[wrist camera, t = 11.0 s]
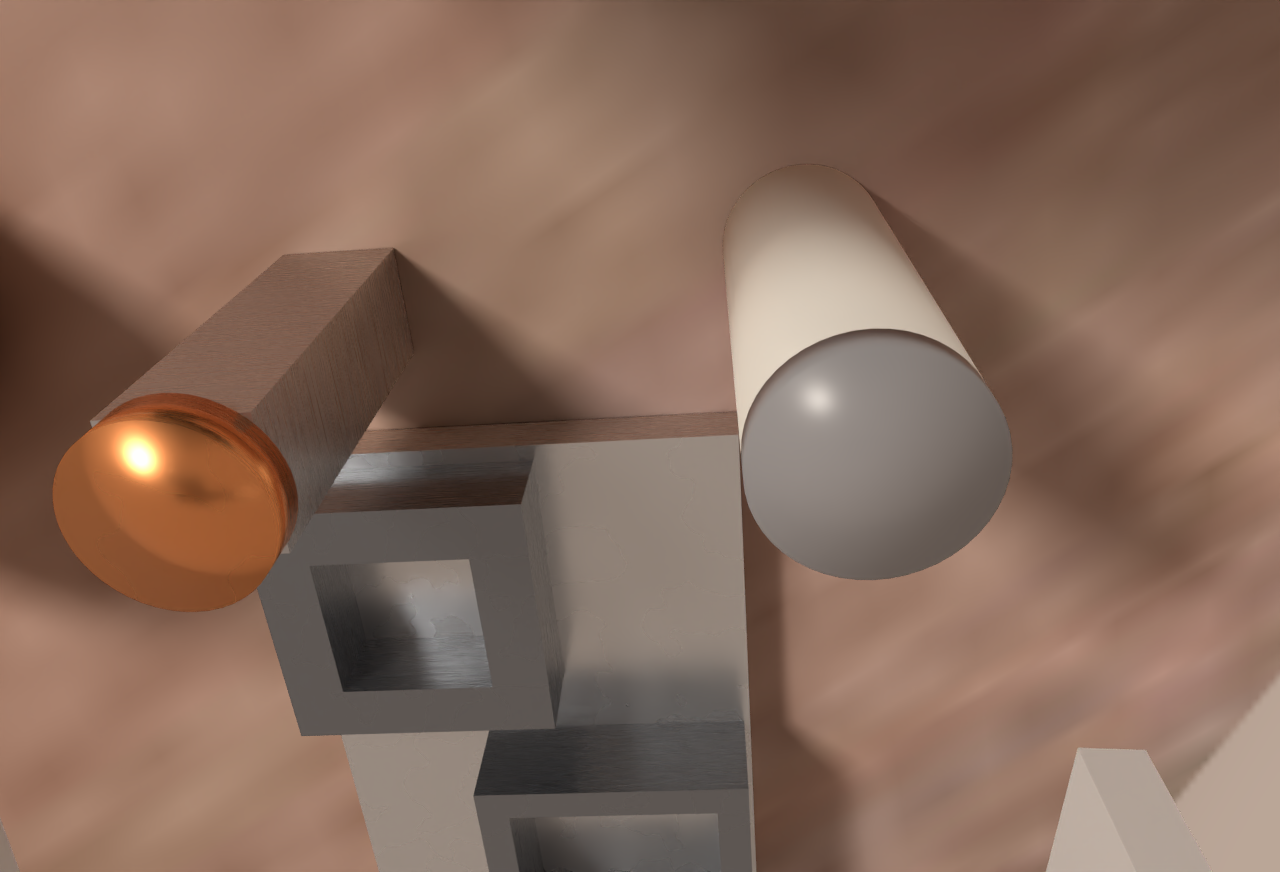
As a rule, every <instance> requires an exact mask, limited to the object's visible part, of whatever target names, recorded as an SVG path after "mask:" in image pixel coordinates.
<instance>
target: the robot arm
mask: <svg viewBox="0 0 1280 872" xmlns="http://www.w3.org/2000/svg"><path fill="white" fill-rule="evenodd" d="M0 872H20V871H19V868H18V865H17V862H16V860H15V857H14V854H13V851H12V849H11V846H10V843H9V841H8V838H7V835H6V832H5V830H4V827H3V824H2V821H1V819H0ZM1046 872H1213V871H1212V869H1211V867H1210V865H1209V864H1208V862H1207V860H1206V858H1205V856H1204V854H1203V853H1202V851H1201V849H1200V847H1199V846H1198V844H1197V842H1196V840H1195V838H1194V836H1193V835H1192V833H1191V831H1190V829H1189V827H1188V826H1187V824H1186V822H1185V820H1184V818H1183V816H1182V815H1181V813H1180V811H1179V809H1178V807H1177V806H1176V804H1175V802H1174V800H1173V798H1172V797H1171V795H1170V793H1169V791H1168V789H1167V788H1166V786H1165V784H1164V782H1163V780H1162V779H1161V777H1160V775H1159V773H1158V771H1157V769H1156V768H1155V766H1154V764H1153V762H1152V760H1151V759H1150V757H1149V755H1148V753H1147V751H1146V750H1130V749H1102V748H1078V749H1077V753H1076V757H1075V761H1074V765H1073V769H1072V772H1071V776H1070V780H1069V784H1068V788H1067V792H1066V796H1065V800H1064V804H1063V807H1062V811H1061V815H1060V819H1059V823H1058V827H1057V831H1056V835H1055V839H1054V842H1053V846H1052V850H1051V854H1050V858H1049V862H1048V866H1047V870H1046Z"/></svg>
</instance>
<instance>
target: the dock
mask: <svg viewBox="0 0 1280 872" xmlns="http://www.w3.org/2000/svg"><path fill="white" fill-rule="evenodd" d="M257 590H258V593H259V596H260V600H261V603H262V606H263V610H264V613H265V616H266V620H267V623H268V626H269V630H270V633H271V636H272V640H273V643H274V646H275V650H276V653H277V656H278V659H279V663H280V666H281V669H282V673H283V676H284V679H285V683H286V686H287V689H288V693H289V696H290V699H291V703H292V706H293V709H294V713H295V716H296V719H297V723H298V726H299V729H300V733H301V736H320V735H341V736H342V739H343V743H344V747H345V750H346V754H347V758H348V761H349V765H350V768H351V772H352V776H353V779H354V783H355V786H356V790H357V794H358V797H359V801H360V804H361V808H362V812H363V815H364V819H365V822H366V826H367V830H368V833H369V837H370V840H371V844H372V848H373V851H374V855H375V858H376V862H377V866H378V869H379V872H756V851H755V826H754V802H753V777H752V753H751V728H750V704H749V679H748V655H747V630H746V606H745V581H744V557H743V532H742V507H741V483H740V458H739V434H738V423H737V412H723V413H704V414H685V415H665V416H646V417H627V418H608V419H589V420H570V421H551V422H531V423H512V424H493V425H474V426H455V427H436V428H416V429H397V430H378V431H365V433H364V434H363V436H362V438H361V439H360V441H359V443H358V444H357V446H356V447H355V449H354V451H353V452H352V454H351V455H350V457H349V459H348V460H347V462H346V463H345V465H344V467H343V468H342V470H341V472H340V473H339V475H338V476H337V478H336V480H335V481H334V483H333V484H332V486H331V488H330V489H329V491H328V493H327V494H326V496H325V497H324V499H323V501H322V502H321V504H320V505H319V507H318V509H317V510H316V512H315V514H314V515H313V517H312V518H311V520H310V522H309V523H308V525H307V526H306V528H305V530H304V531H303V533H302V534H301V536H300V538H299V539H298V541H297V543H296V544H295V546H294V547H293V549H292V551H291V552H290V553H285V554H280V555H279V557H278V559H277V560H276V562H275V563H274V565H273V566H272V568H271V570H270V571H269V573H268V574H267V576H266V577H265V579H264V580H263V581H262V583H261V584H260V585H259V586H258V587H257Z"/></svg>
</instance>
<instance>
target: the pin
mask: <svg viewBox="0 0 1280 872" xmlns="http://www.w3.org/2000/svg"><path fill="white" fill-rule="evenodd" d="M413 354H414V351H413V346H412V341H411V336H410V330H409V325H408V320H407V315H406V310H405V304H404V299H403V294H402V289H401V284H400V278H399V273H398V268H397V263H396V258H395V252H394V248H385V249H370V250H354V251H339V252H323V253H308V254H292V255H283V256H282V257H280V258H279V259H278V260H277V261H276V262H275V263H273V264H272V265H271V266H270V267H269V268H268V269H266V270H265V271H264V272H263V273H262V274H261V275H259V276H258V277H257V278H256V279H255V280H254V281H252V282H251V283H250V284H249V285H248V286H247V287H245V288H244V289H243V290H242V291H241V292H240V293H238V294H237V295H236V296H235V297H234V298H233V299H231V300H230V301H229V302H228V303H227V304H226V305H224V306H223V307H222V308H221V309H220V310H219V311H217V312H216V313H215V314H214V315H213V316H212V317H210V318H209V319H208V320H207V321H206V322H205V323H203V324H202V325H201V326H200V327H199V328H198V329H196V330H195V331H194V332H193V333H192V334H191V335H189V336H188V337H187V338H186V339H185V340H184V341H182V342H181V343H180V344H179V345H178V346H177V347H175V348H174V349H173V350H172V351H171V352H170V353H168V354H167V355H166V356H165V357H164V358H163V359H161V360H160V361H159V362H158V363H157V364H156V365H154V366H153V367H152V368H151V369H150V370H149V371H147V372H146V373H145V374H144V375H143V376H142V377H140V378H139V379H138V380H137V381H136V382H135V383H133V384H132V385H131V386H130V387H129V388H128V389H126V390H125V391H124V392H123V393H122V394H121V395H119V396H118V397H117V398H116V399H115V400H114V401H112V402H111V403H110V404H109V405H108V406H107V407H105V408H104V409H103V410H102V411H101V412H100V413H98V414H97V415H96V416H95V417H94V418H93V419H91V420H90V423H91V426H92V428H91V429H90V430H89V431H88V432H87V433H86V434H85V435H83V436H82V437H81V438H80V439H79V440H78V441H77V442H75V443H74V444H73V445H72V446H71V447H70V448H69V450H68V451H67V452H66V453H65V454H64V456H63V458H62V460H61V461H60V463H59V465H58V468H57V471H56V473H55V476H54V482H53V506H54V512H55V516H56V519H57V522H58V525H59V528H60V530H61V532H62V534H63V536H64V538H65V540H66V541H67V543H68V545H69V546H70V548H71V549H72V551H73V552H74V553H75V555H76V556H77V557H78V558H79V560H80V561H81V562H82V563H83V564H84V565H85V566H86V567H87V568H88V569H89V570H90V571H91V572H92V573H93V574H94V575H96V576H97V577H98V578H99V579H100V580H102V581H103V582H104V583H106V584H107V585H109V586H110V587H112V588H113V589H115V590H117V591H118V592H120V593H122V594H124V595H126V596H127V597H130V598H132V599H134V600H137V601H139V602H141V603H144V604H147V605H151V606H154V607H158V608H162V609H167V610H173V611H181V612H199V611H209V610H214V609H219V608H223V607H225V606H228V605H231V604H234V603H235V602H237V601H239V600H241V599H243V598H245V597H246V596H247V595H249V594H250V593H252V592H253V591H254V590H255V589H256V588H257V587H258V586H259V585H260V584H261V583H262V581H263V580H264V579H265V577H266V576H267V574H268V573H269V571H270V570H271V568H272V566H273V565H274V563H275V562H276V560H277V559H278V557H279V555H280V554H285V553H290V552H291V551H292V549H293V547H294V546H295V544H296V543H297V541H298V539H299V538H300V536H301V534H302V533H303V531H304V530H305V528H306V526H307V525H308V523H309V522H310V520H311V518H312V517H313V515H314V514H315V512H316V510H317V509H318V507H319V505H320V504H321V502H322V501H323V499H324V497H325V496H326V494H327V493H328V491H329V489H330V488H331V486H332V484H333V483H334V481H335V480H336V478H337V476H338V475H339V473H340V472H341V470H342V468H343V467H344V465H345V463H346V462H347V460H348V459H349V457H350V455H351V454H352V452H353V451H354V449H355V447H356V446H357V444H358V443H359V441H360V439H361V438H362V436H363V434H364V433H365V431H366V430H367V428H368V426H369V425H370V423H371V422H372V420H373V418H374V417H375V415H376V413H377V412H378V410H379V409H380V407H381V405H382V404H383V402H384V401H385V399H386V397H387V396H388V394H389V392H390V391H391V389H392V388H393V386H394V384H395V383H396V381H397V380H398V378H399V376H400V375H401V373H402V371H403V370H404V368H405V367H406V365H407V363H408V362H409V360H410V359H411V357H412V355H413Z"/></svg>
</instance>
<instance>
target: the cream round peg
mask: <svg viewBox="0 0 1280 872" xmlns="http://www.w3.org/2000/svg"><path fill="white" fill-rule="evenodd" d="M723 261H724V272H725V283H726V294H727V305H728V316H729V328H730V339H731V350H732V361H733V372H734V383H735V395H736V406H737V417H738V428H739V439H740V450H741V462H742V473H743V482H744V491H745V495H746V499H747V502H748V506H749V508H750V510H751V513H752V515H753V517H754V519H755V521H756V522H757V524H758V526H759V527H760V529H761V530H762V532H763V533H764V534H765V535H766V537H767V538H768V539H769V540H770V541H771V542H772V543H773V544H774V545H775V546H776V547H777V548H778V549H779V550H780V551H782V552H783V553H784V554H786V555H787V556H788V557H790V558H791V559H793V560H794V561H796V562H798V563H800V564H802V565H804V566H806V567H808V568H810V569H812V570H815V571H818V572H821V573H823V574H827V575H831V576H835V577H839V578H847V579H855V580H878V579H889V578H894V577H899V576H904V575H908V574H911V573H915V572H918V571H921V570H924V569H926V568H928V567H931V566H933V565H935V564H938V563H939V562H941V561H943V560H945V559H946V558H948V557H950V556H952V555H953V554H955V553H956V552H957V551H959V550H960V549H962V548H963V547H964V546H966V545H967V544H968V543H969V542H970V541H971V540H972V539H973V538H974V537H976V536H977V535H978V534H979V533H980V531H981V530H982V529H983V528H984V527H985V526H986V524H987V523H988V522H989V521H990V519H991V518H992V516H993V515H994V513H995V512H996V510H997V509H998V507H999V505H1000V502H1001V500H1002V498H1003V496H1004V494H1005V491H1006V488H1007V485H1008V482H1009V479H1010V473H1011V467H1012V442H1011V435H1010V431H1009V428H1008V424H1007V421H1006V418H1005V416H1004V414H1003V412H1002V410H1001V408H1000V406H999V404H998V402H997V400H996V399H995V397H994V396H993V394H992V392H991V391H990V389H989V387H988V386H987V384H986V383H985V381H984V379H983V378H982V376H981V374H980V373H979V371H978V370H977V368H976V366H975V365H974V363H973V361H972V360H971V358H970V357H969V355H968V353H967V352H966V350H965V348H964V347H963V345H962V344H961V342H960V340H959V339H958V337H957V335H956V334H955V332H954V331H953V329H952V327H951V326H950V324H949V322H948V321H947V319H946V318H945V316H944V314H943V313H942V311H941V310H940V308H939V306H938V305H937V303H936V301H935V300H934V298H933V297H932V295H931V293H930V292H929V290H928V288H927V287H926V285H925V284H924V282H923V280H922V279H921V277H920V275H919V274H918V272H917V271H916V269H915V267H914V266H913V264H912V262H911V261H910V259H909V258H908V256H907V254H906V253H905V251H904V249H903V248H902V246H901V245H900V243H899V241H898V240H897V238H896V236H895V235H894V233H893V232H892V230H891V228H890V227H889V225H888V223H887V222H886V220H885V219H884V217H883V215H882V214H881V212H880V210H879V209H878V207H877V206H876V204H875V202H874V201H873V199H872V198H871V196H870V195H869V193H868V192H867V191H866V190H865V189H864V188H863V187H862V186H861V184H859V183H858V182H857V181H856V180H854V179H853V178H852V177H850V176H848V175H847V174H845V173H843V172H841V171H839V170H836V169H834V168H830V167H826V166H822V165H814V164H801V165H793V166H788V167H785V168H781V169H778V170H776V171H773V172H771V173H769V174H767V175H765V176H764V177H762V178H760V179H759V180H758V181H756V182H755V183H754V184H752V185H751V186H750V187H749V188H748V189H747V190H746V191H745V192H744V193H743V194H742V195H741V197H740V198H739V199H738V200H737V202H736V204H735V205H734V207H733V209H732V210H731V212H730V215H729V217H728V219H727V222H726V226H725V229H724V235H723Z"/></svg>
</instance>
